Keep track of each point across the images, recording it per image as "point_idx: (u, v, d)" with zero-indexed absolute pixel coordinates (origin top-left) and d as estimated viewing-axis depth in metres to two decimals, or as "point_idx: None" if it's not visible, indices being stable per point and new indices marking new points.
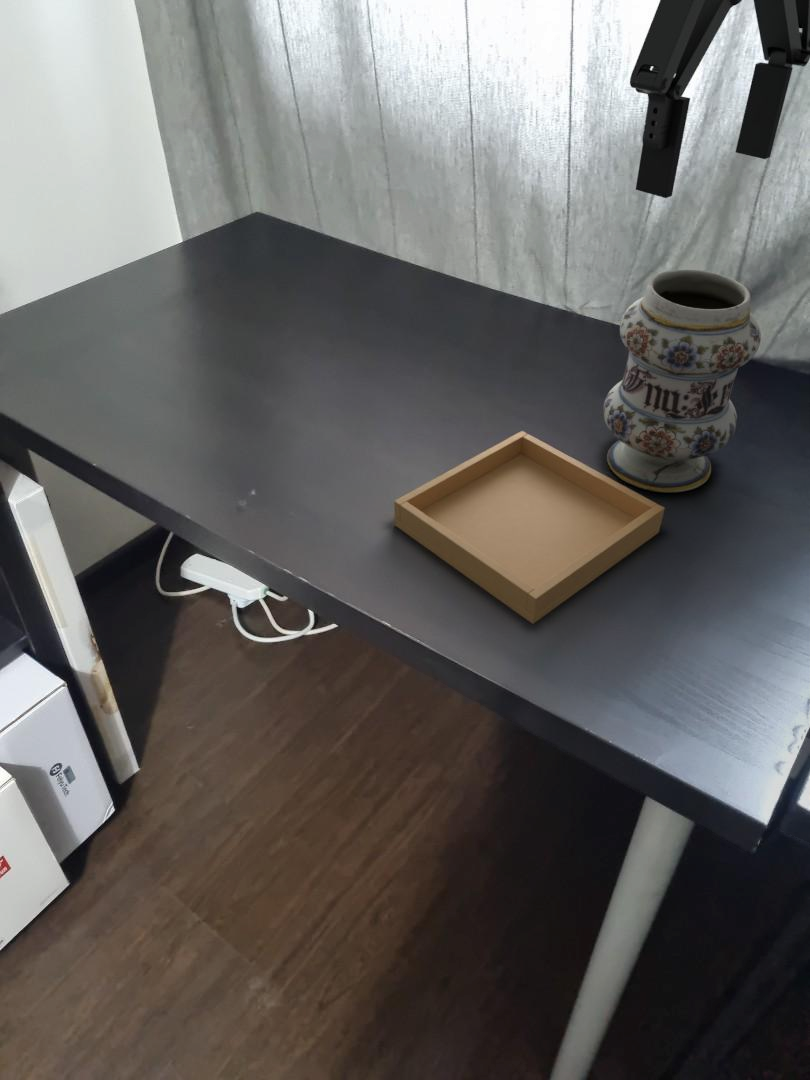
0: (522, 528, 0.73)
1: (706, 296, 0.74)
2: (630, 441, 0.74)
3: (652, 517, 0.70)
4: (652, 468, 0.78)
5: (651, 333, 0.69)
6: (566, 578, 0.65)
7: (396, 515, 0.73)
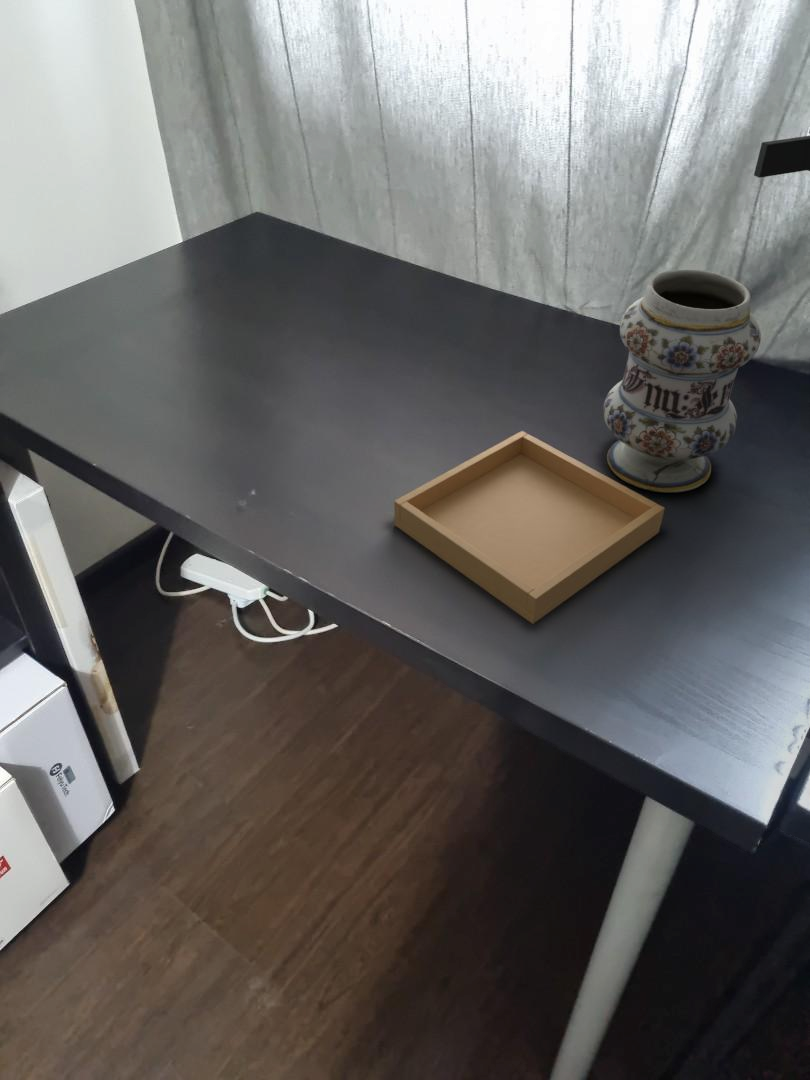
0: (522, 528, 0.73)
1: (706, 296, 0.74)
2: (630, 441, 0.74)
3: (652, 517, 0.70)
4: (652, 468, 0.78)
5: (651, 333, 0.69)
6: (566, 578, 0.65)
7: (396, 515, 0.73)
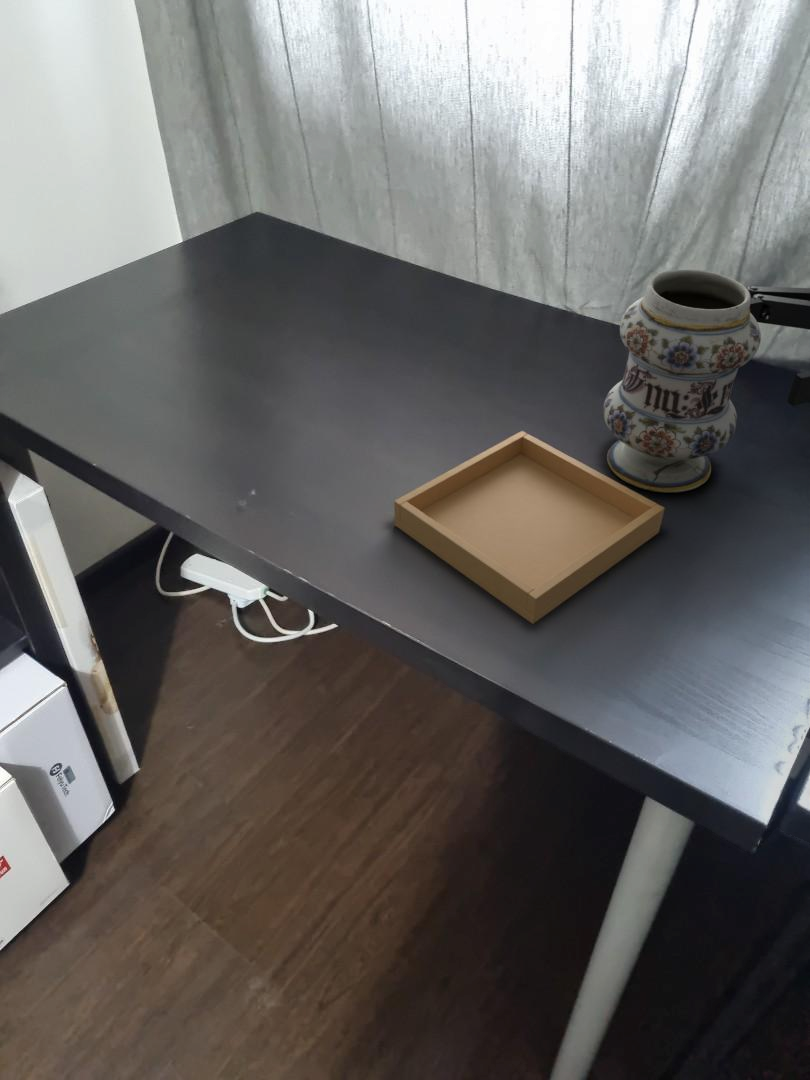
0: (522, 528, 0.73)
1: (706, 296, 0.74)
2: (630, 441, 0.74)
3: (652, 517, 0.70)
4: (652, 468, 0.78)
5: (651, 333, 0.69)
6: (566, 578, 0.65)
7: (396, 515, 0.73)
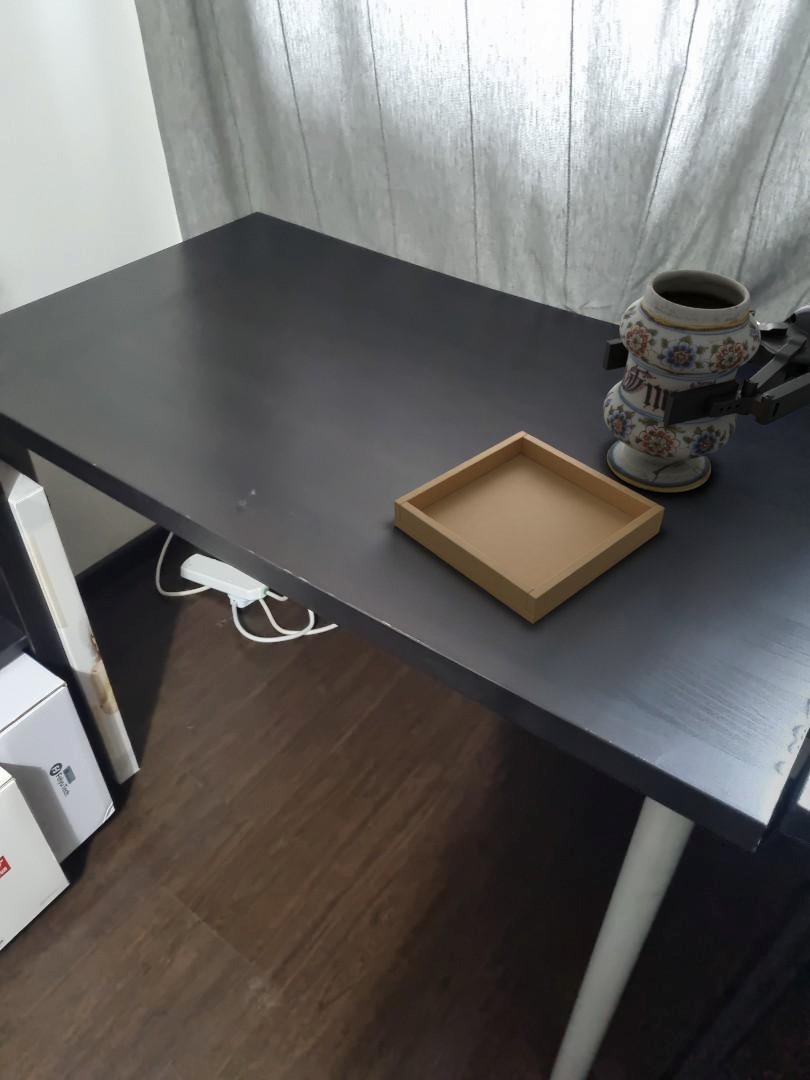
0: (522, 528, 0.73)
1: (705, 296, 0.74)
2: (630, 441, 0.74)
3: (652, 517, 0.70)
4: (652, 468, 0.78)
5: (650, 333, 0.69)
6: (566, 578, 0.65)
7: (396, 515, 0.73)
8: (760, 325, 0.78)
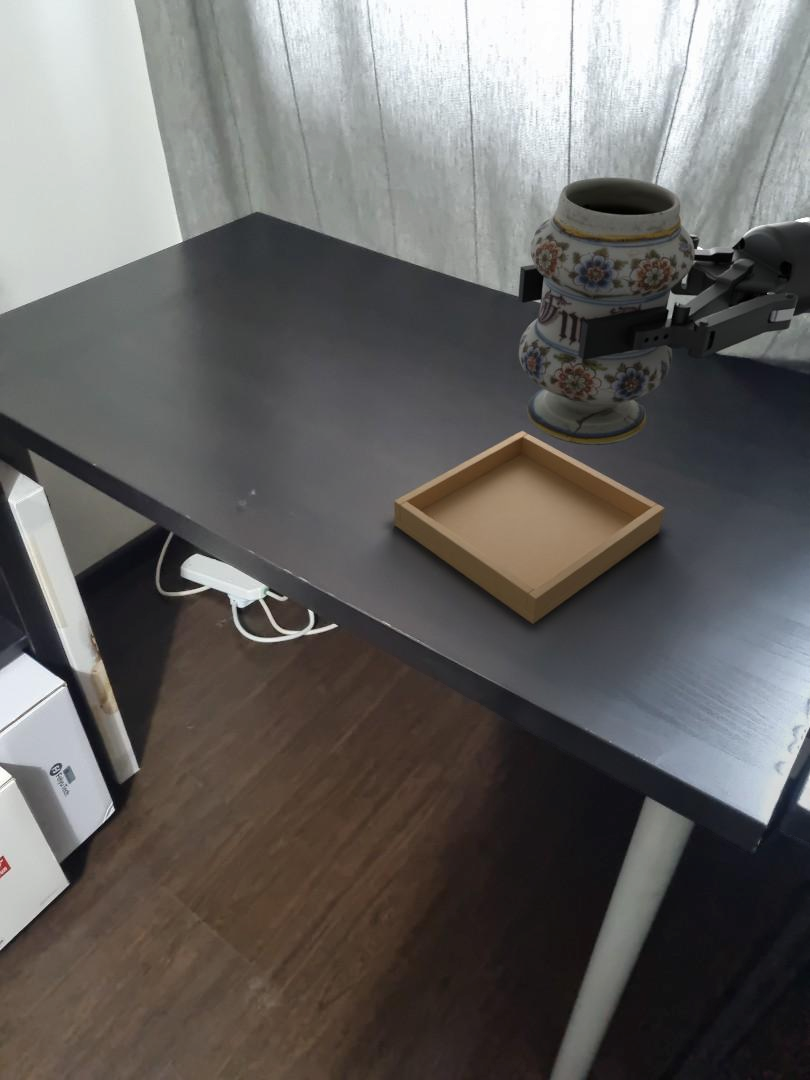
0: (522, 528, 0.73)
1: (634, 210, 0.63)
2: (545, 382, 0.63)
3: (652, 517, 0.70)
4: (576, 416, 0.67)
5: (561, 247, 0.58)
6: (566, 578, 0.65)
7: (396, 515, 0.73)
8: (702, 250, 0.66)
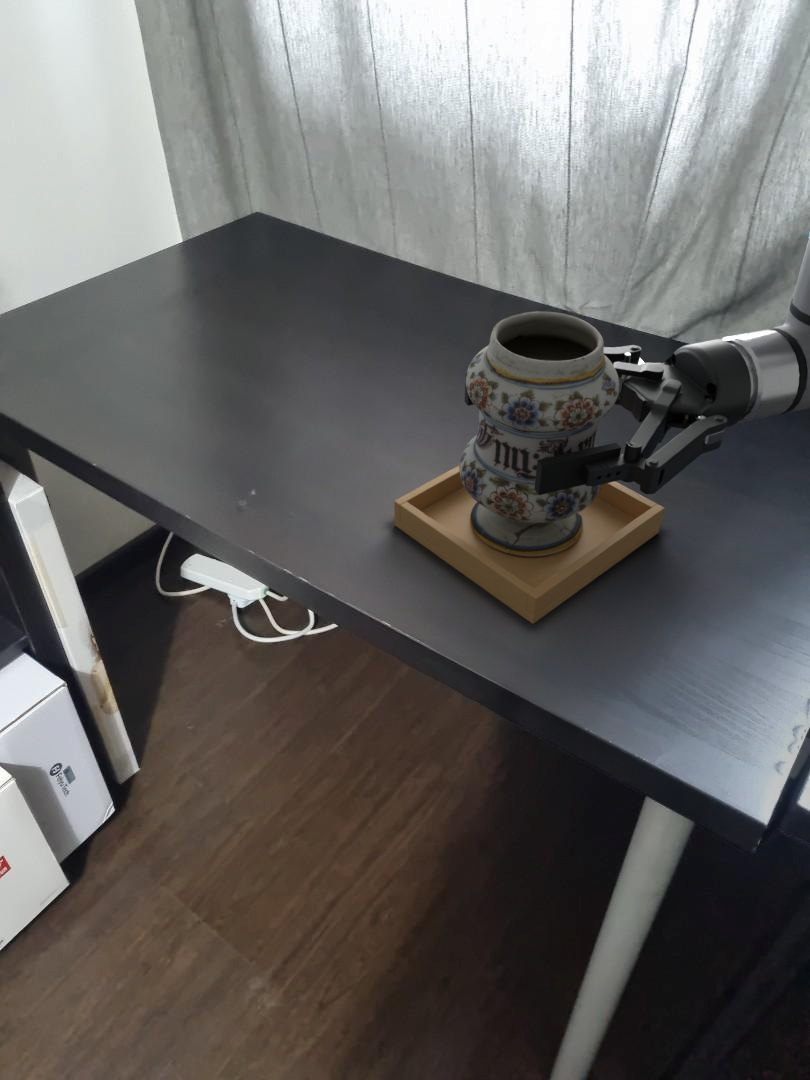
0: None
1: (565, 340, 0.66)
2: (482, 502, 0.67)
3: (652, 517, 0.70)
4: (514, 528, 0.70)
5: (491, 386, 0.61)
6: (566, 578, 0.65)
7: (396, 515, 0.73)
8: (634, 367, 0.70)
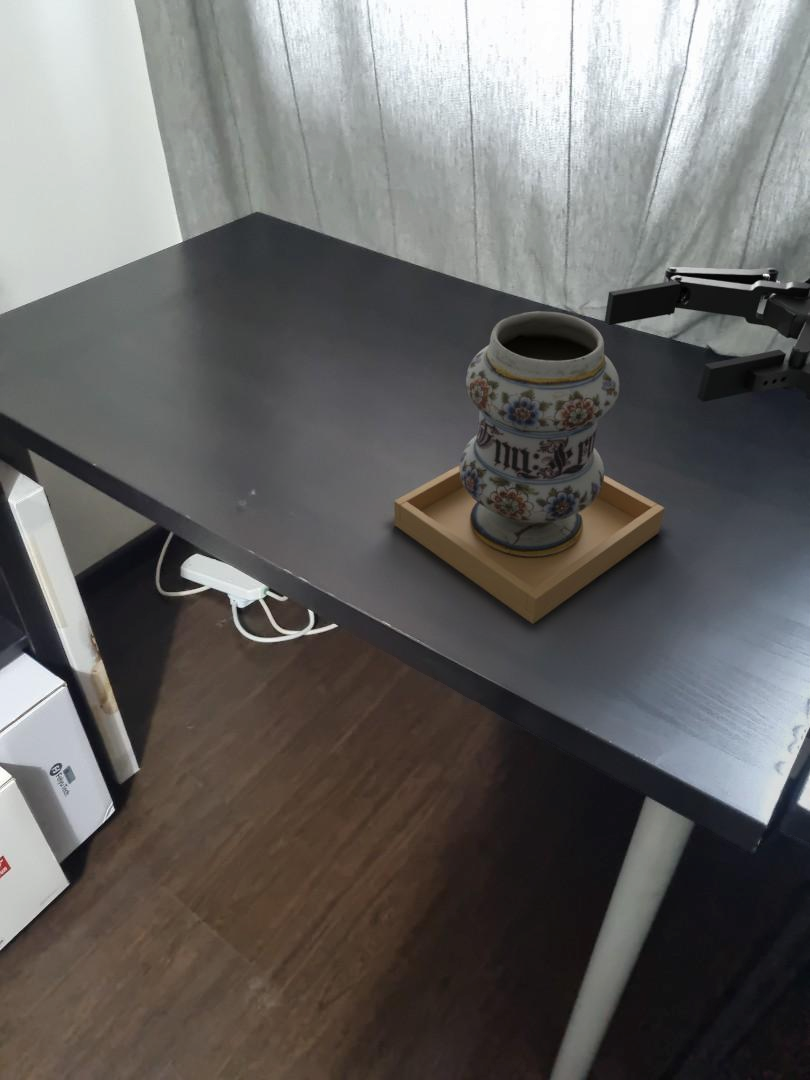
0: None
1: (565, 340, 0.66)
2: (482, 502, 0.67)
3: (652, 517, 0.70)
4: (514, 528, 0.70)
5: (491, 386, 0.61)
6: (566, 578, 0.65)
7: (396, 515, 0.73)
8: (779, 285, 0.69)
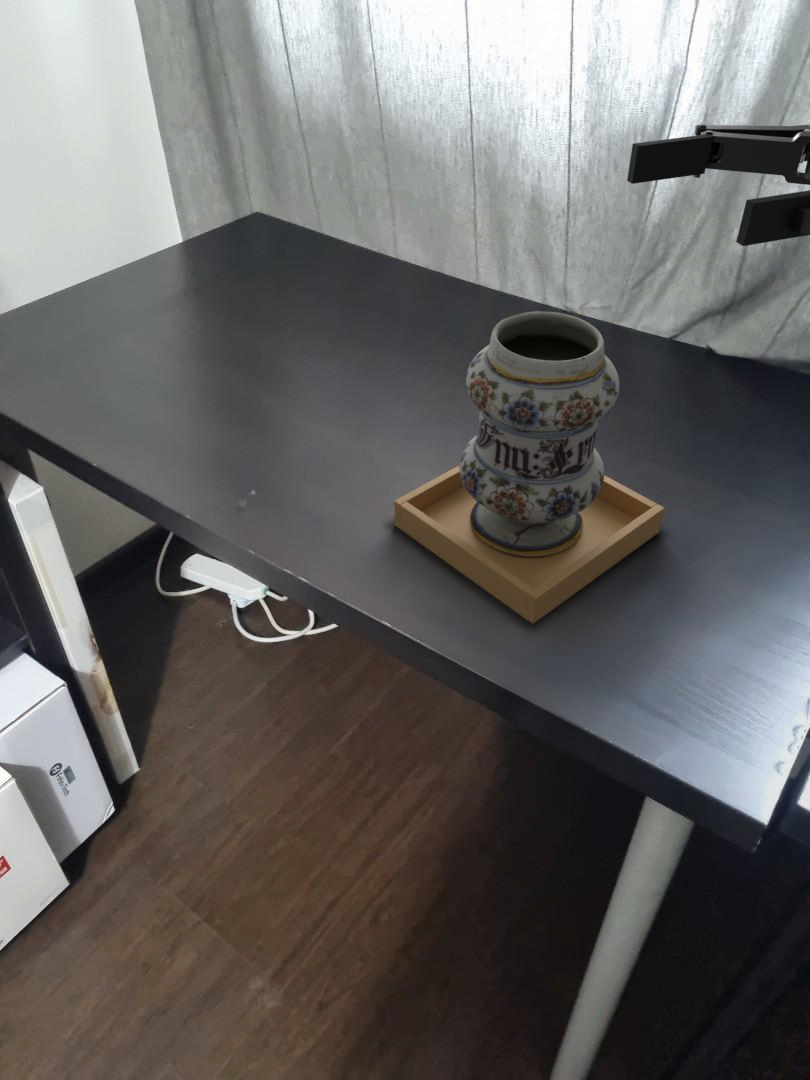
0: None
1: (565, 340, 0.66)
2: (482, 502, 0.67)
3: (652, 517, 0.70)
4: (514, 528, 0.70)
5: (491, 386, 0.61)
6: (566, 578, 0.65)
7: (396, 515, 0.73)
8: None
